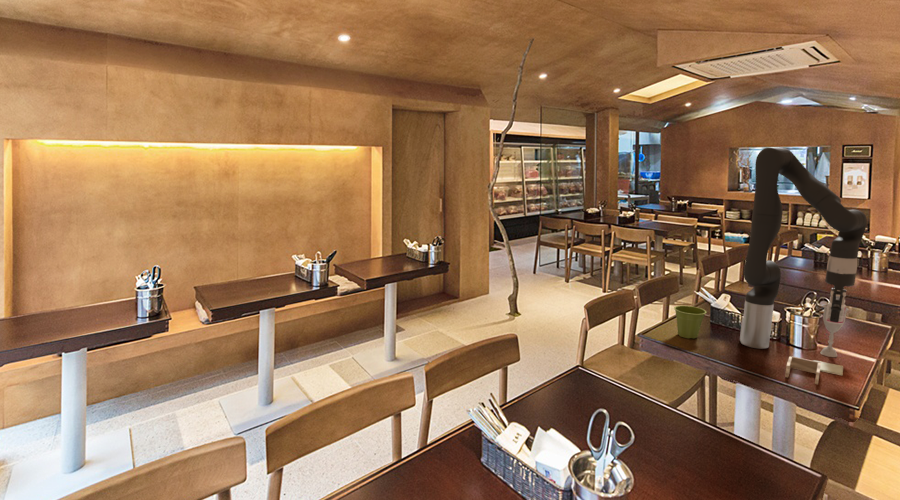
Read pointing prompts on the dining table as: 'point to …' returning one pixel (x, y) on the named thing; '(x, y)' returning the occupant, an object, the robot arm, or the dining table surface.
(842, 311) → the pill bottle
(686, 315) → the plant pot
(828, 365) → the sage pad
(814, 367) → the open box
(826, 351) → the chalice
